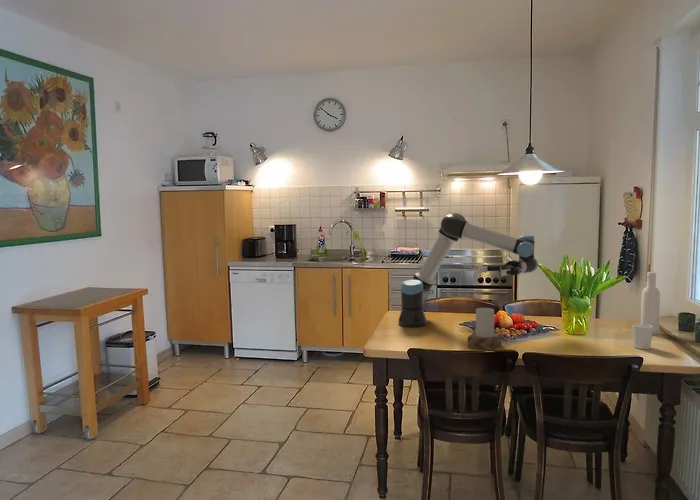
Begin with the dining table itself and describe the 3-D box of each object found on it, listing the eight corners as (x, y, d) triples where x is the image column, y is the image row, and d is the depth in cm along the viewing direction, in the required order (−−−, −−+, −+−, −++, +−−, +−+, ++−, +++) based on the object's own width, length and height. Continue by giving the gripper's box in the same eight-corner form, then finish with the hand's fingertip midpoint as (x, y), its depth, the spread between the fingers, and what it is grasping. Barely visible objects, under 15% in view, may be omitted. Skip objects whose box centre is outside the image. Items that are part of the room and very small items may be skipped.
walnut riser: (467, 347, 238) (467, 336, 237) (476, 341, 248) (476, 330, 247) (493, 351, 232) (493, 340, 231) (501, 344, 242) (501, 333, 241)
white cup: (627, 345, 236) (628, 323, 235) (644, 344, 237) (645, 323, 236) (639, 350, 228) (639, 328, 227) (656, 349, 229) (656, 327, 228)
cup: (494, 338, 235) (494, 311, 233) (476, 337, 236) (476, 311, 235) (493, 333, 242) (493, 308, 241) (475, 332, 244) (475, 307, 243)
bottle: (643, 329, 262) (645, 270, 259) (660, 332, 256) (663, 272, 253) (637, 333, 256) (640, 272, 253) (655, 335, 251) (658, 274, 247)
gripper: (537, 277, 257) (511, 282, 244) (495, 272, 276) (469, 276, 263) (537, 262, 256) (512, 266, 243) (495, 258, 276) (469, 261, 263)
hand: (489, 271), depth 253 cm, fingers open, 13 cm apart
